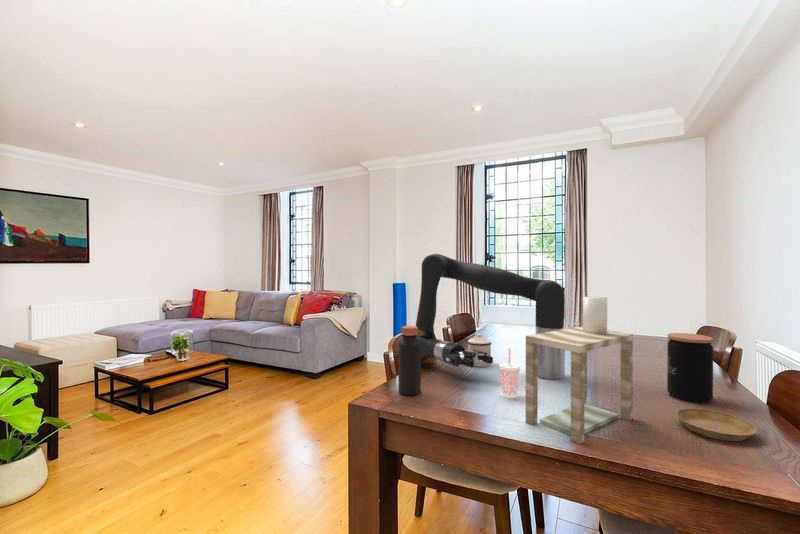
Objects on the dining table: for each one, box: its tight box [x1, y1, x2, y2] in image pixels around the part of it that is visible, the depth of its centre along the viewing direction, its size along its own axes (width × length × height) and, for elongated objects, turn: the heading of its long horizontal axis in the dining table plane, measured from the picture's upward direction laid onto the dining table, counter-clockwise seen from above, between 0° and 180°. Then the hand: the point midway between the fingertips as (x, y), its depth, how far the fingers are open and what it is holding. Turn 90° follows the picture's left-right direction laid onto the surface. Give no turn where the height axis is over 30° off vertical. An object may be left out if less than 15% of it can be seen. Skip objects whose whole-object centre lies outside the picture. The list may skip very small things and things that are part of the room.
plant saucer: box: [675, 407, 758, 442], centre depth 90 cm, size 15×15×3 cm
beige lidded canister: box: [467, 333, 492, 368], centre depth 150 cm, size 12×9×12 cm
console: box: [525, 326, 634, 445], centre depth 95 cm, size 24×14×22 cm, turn 124°
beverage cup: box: [498, 348, 521, 399], centre depth 113 cm, size 6×6×14 cm
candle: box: [582, 296, 608, 334], centre depth 99 cm, size 6×6×9 cm
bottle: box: [398, 325, 422, 397], centre depth 116 cm, size 7×7×20 cm
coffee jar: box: [666, 332, 714, 404], centre depth 111 cm, size 11×11×18 cm
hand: (482, 362), depth 122 cm, fingers open, 8 cm apart
